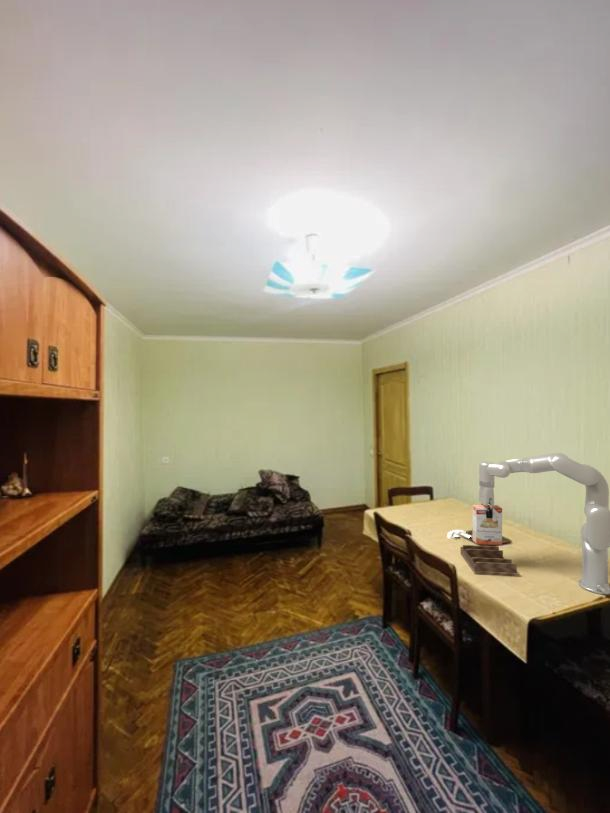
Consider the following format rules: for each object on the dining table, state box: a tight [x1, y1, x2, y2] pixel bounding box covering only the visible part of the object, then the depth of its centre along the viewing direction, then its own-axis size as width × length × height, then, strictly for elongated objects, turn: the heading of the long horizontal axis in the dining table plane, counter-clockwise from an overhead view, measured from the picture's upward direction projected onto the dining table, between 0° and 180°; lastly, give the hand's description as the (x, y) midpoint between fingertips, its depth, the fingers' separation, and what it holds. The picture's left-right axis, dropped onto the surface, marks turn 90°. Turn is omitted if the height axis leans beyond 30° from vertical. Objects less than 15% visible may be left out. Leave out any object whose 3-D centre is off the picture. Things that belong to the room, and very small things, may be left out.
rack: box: [460, 544, 521, 578], centre depth 188 cm, size 22×24×6 cm
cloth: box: [446, 529, 472, 540], centre depth 230 cm, size 20×22×2 cm
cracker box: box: [471, 504, 503, 546], centre depth 188 cm, size 14×6×21 cm, turn 84°
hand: (486, 515), depth 188 cm, fingers closed on cracker box, 6 cm apart
